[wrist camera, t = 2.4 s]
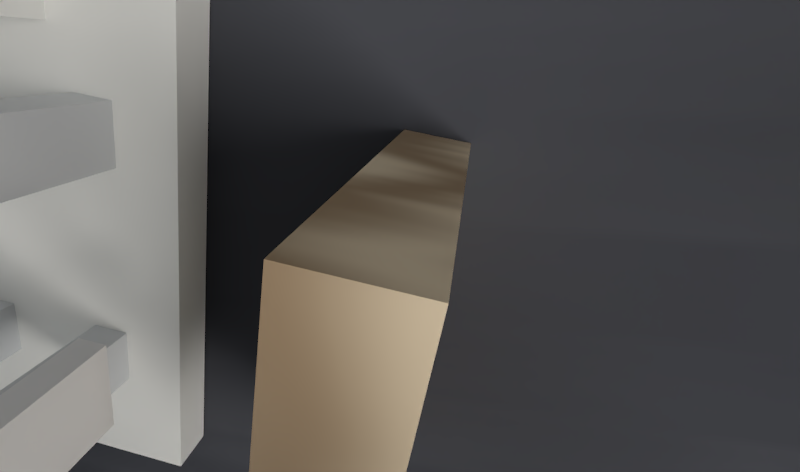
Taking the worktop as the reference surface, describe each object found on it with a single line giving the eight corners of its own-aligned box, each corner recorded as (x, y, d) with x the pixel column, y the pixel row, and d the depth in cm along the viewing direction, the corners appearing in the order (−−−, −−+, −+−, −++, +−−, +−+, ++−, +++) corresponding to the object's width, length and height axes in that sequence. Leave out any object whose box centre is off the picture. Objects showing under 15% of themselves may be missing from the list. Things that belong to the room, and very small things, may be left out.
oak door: (470, 143, 17) (448, 303, 6) (403, 428, 22) (325, 792, 11) (378, 123, 17) (193, 242, 6) (334, 409, 23) (191, 745, 12)
